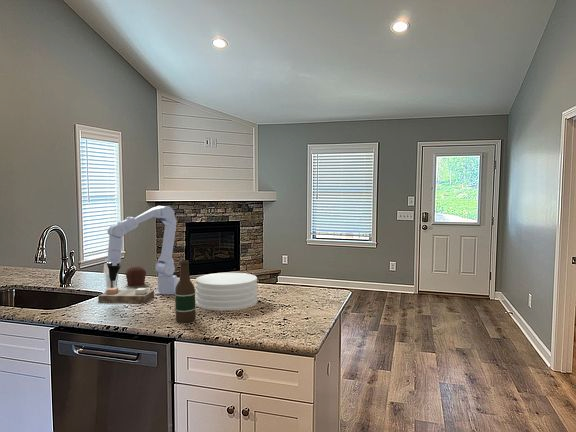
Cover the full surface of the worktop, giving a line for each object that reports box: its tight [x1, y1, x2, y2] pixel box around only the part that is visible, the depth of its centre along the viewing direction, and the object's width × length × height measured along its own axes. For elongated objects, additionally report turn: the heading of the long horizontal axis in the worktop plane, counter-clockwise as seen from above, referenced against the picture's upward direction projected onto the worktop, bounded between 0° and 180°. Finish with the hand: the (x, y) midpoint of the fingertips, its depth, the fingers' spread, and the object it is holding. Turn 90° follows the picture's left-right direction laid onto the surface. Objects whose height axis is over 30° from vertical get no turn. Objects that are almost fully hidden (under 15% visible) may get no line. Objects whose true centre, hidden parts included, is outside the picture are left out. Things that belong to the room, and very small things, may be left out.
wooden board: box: [97, 289, 155, 304], centre depth 209 cm, size 22×12×3 cm, turn 87°
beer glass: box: [103, 262, 119, 293], centre depth 223 cm, size 7×7×15 cm
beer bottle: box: [174, 259, 196, 324], centre depth 173 cm, size 8×8×24 cm
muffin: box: [124, 265, 147, 287], centre depth 242 cm, size 12×11×10 cm
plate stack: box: [195, 272, 258, 312], centre depth 202 cm, size 28×28×12 cm
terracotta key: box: [105, 287, 119, 294], centre depth 209 cm, size 4×4×3 cm
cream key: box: [134, 287, 148, 294], centre depth 209 cm, size 4×4×3 cm
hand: (112, 279), depth 203 cm, fingers open, 7 cm apart
